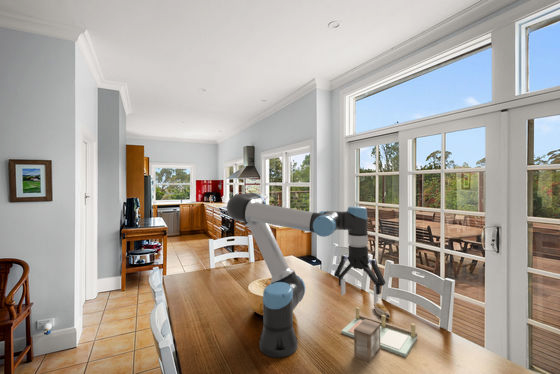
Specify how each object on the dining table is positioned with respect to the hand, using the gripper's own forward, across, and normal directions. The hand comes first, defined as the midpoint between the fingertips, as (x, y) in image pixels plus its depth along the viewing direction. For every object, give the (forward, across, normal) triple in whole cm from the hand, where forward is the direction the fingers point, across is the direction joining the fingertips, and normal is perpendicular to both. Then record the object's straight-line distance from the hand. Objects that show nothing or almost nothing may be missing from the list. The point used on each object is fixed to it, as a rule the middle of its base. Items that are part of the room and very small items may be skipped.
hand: (359, 298), depth 110 cm
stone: (+18, +1, -30) cm, 35 cm away
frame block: (+18, -5, +4) cm, 19 cm away
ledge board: (+18, -4, -10) cm, 21 cm away
